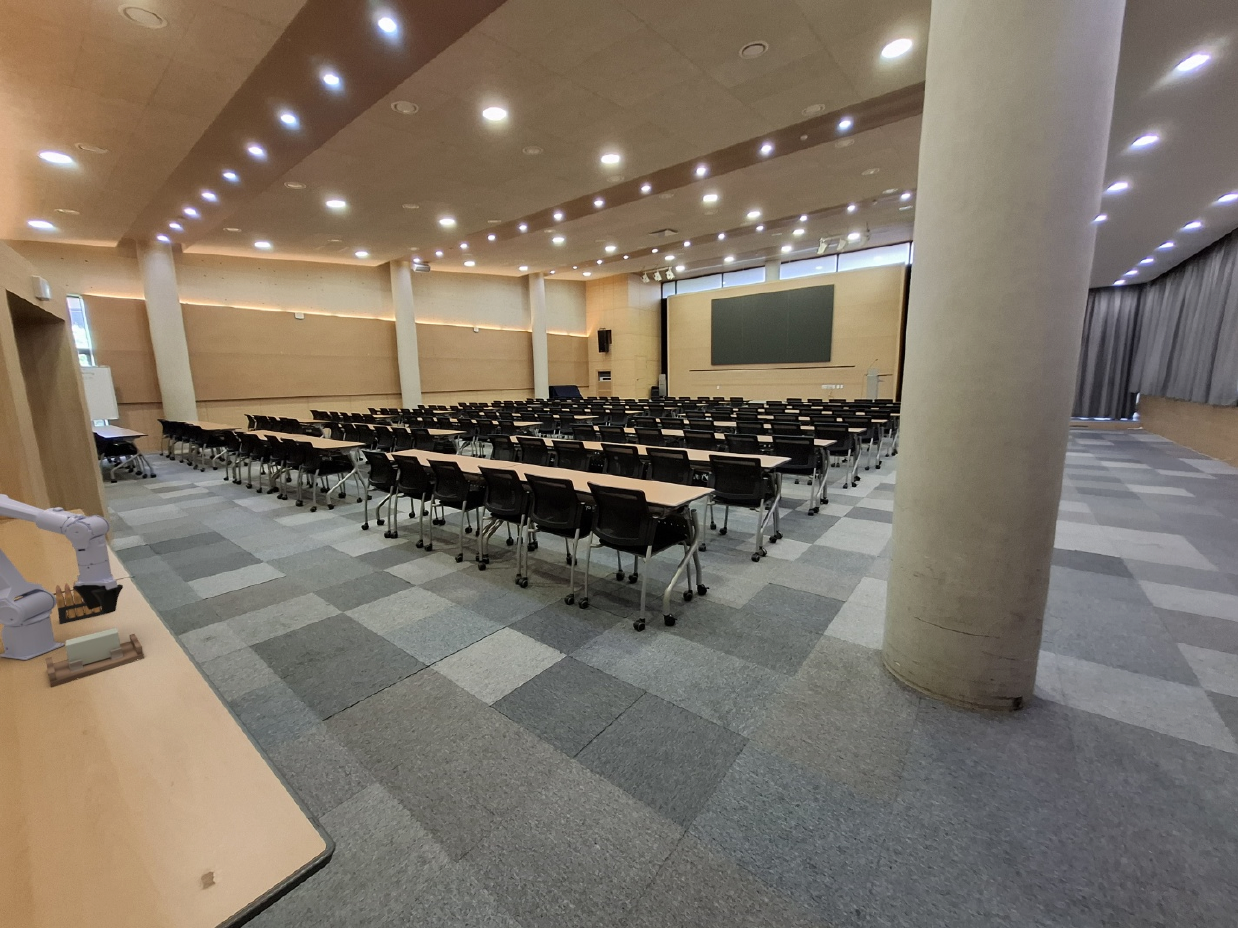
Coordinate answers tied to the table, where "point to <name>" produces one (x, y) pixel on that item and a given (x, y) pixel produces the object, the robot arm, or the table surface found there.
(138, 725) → the table surface
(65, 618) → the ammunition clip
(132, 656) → the brown wooden holder
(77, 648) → the tapered sage green block
